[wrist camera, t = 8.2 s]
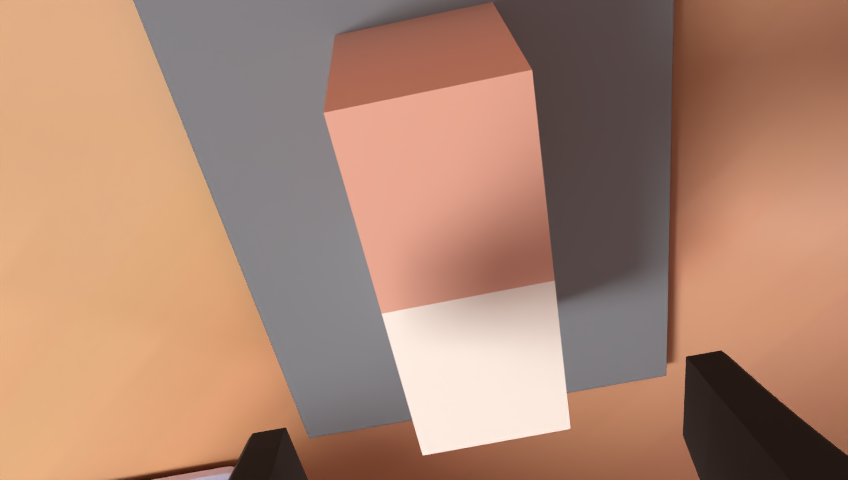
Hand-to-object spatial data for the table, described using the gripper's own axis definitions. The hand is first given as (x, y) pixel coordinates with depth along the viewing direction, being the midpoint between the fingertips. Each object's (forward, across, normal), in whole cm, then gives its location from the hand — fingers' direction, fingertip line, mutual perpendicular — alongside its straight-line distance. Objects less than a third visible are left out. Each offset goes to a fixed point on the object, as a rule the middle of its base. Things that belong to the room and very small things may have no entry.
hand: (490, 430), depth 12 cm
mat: (+9, 0, 0) cm, 9 cm away
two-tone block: (+9, 0, 0) cm, 9 cm away
